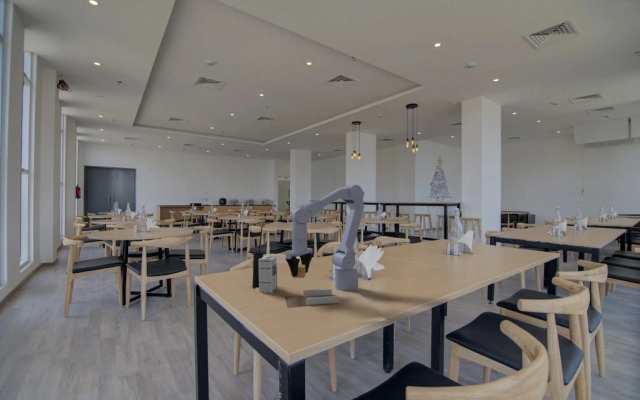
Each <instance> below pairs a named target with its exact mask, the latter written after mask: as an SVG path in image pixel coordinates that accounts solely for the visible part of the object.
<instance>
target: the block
mask: <svg viewBox="0 0 640 400" xmlns="http://www.w3.org/2000/svg"><path fill="white" fill-rule="evenodd" d="M306 275H307V273H306V265H302V264H299V265H298V274H297V276H296V277H295V276H292V278H295V279H299V278H300V279H301V278H302V279H305V277H306Z"/></svg>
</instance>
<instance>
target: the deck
mask: <svg viewBox="0 0 640 400" xmlns="http://www.w3.org/2000/svg"><path fill="white" fill-rule="evenodd" d="M326 296H333V294H332V295H323V296H309V297H303V294H301V295H287V296H284V299H285V304H286V307H287V308H288V309H289V308H301V307H316V306H326V305H328V306H329V305H339V302H338V303H328V304H315V305H307V298H312V297H326Z"/></svg>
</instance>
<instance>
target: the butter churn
mask: <svg viewBox="0 0 640 400" xmlns="http://www.w3.org/2000/svg"><path fill="white" fill-rule="evenodd" d="M263 225H264V223H263V222H261V227H260V235H259V236H260V237H259V242H258V243H259V244H258V252H256V253H253V252H251V255H252V257H253V259H252V285H251V287H252V288H254V289H256V288H257V289H259V259H261V258H263V257H264V253H262V252H261V250H260V249H261V243H262V237H263V236H262V235H263V234H262V233H263Z"/></svg>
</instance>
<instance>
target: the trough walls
mask: <svg viewBox="0 0 640 400" xmlns="http://www.w3.org/2000/svg"><path fill="white" fill-rule="evenodd" d="M302 292H303V293H302V295H303V297H309V296H323V295H332V296H326V297H312V298H307V305H315V304H328V303H338V304H339V302H338V300H339V296H338V295H333V289H332V288H319V289H304V290H302Z"/></svg>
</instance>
